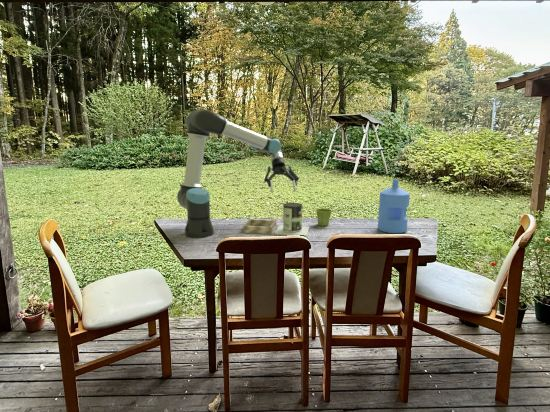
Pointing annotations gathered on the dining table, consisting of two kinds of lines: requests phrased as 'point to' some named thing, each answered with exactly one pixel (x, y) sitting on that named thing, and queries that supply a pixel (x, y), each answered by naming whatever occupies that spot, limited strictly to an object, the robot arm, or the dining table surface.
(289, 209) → the coffee can
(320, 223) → the plant pot
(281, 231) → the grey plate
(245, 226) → the birch frame
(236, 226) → the dining table surface
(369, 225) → the dining table surface
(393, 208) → the water jug
